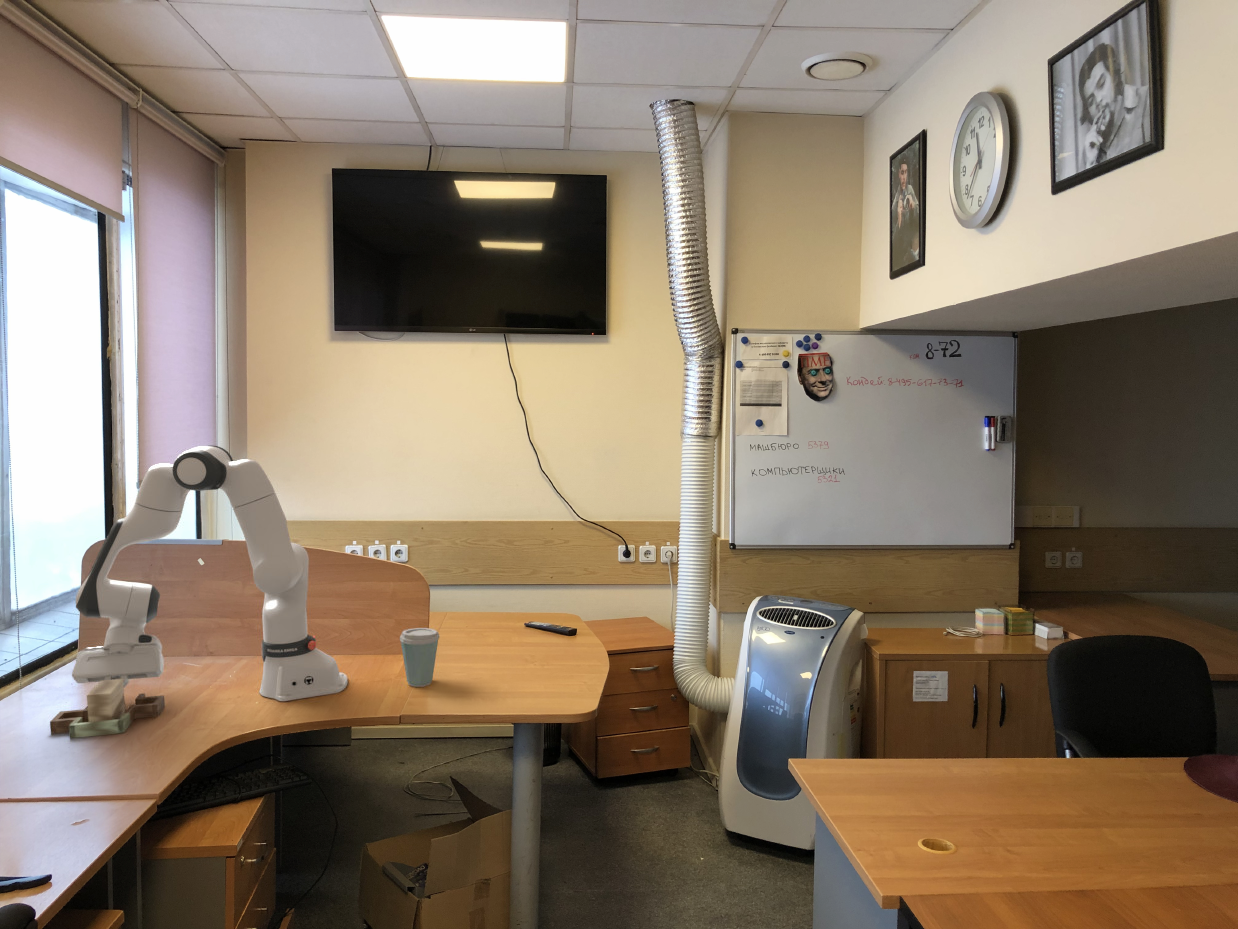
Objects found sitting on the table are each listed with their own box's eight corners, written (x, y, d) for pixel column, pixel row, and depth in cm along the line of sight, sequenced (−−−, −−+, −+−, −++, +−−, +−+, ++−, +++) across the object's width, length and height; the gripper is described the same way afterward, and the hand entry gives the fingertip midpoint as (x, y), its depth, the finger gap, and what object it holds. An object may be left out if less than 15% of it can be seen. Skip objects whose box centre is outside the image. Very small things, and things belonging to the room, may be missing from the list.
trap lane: (167, 702, 219) (167, 691, 219) (148, 730, 202) (147, 718, 202) (72, 711, 214) (72, 699, 213) (44, 740, 196) (43, 728, 196)
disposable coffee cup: (411, 675, 239) (410, 623, 237) (447, 677, 237) (445, 625, 235) (394, 688, 228) (392, 634, 227) (431, 691, 226) (429, 637, 225)
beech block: (125, 713, 212) (122, 678, 211) (112, 729, 203) (110, 693, 202) (102, 715, 211) (100, 680, 210) (89, 731, 201) (86, 695, 200)
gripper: (74, 642, 215) (62, 693, 207) (163, 636, 220) (155, 685, 212) (82, 653, 220) (70, 704, 211) (168, 647, 225) (161, 696, 217)
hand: (113, 695), depth 212 cm, fingers closed, pressing on beech block
